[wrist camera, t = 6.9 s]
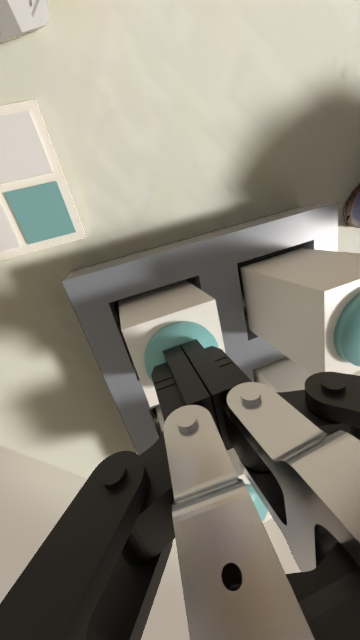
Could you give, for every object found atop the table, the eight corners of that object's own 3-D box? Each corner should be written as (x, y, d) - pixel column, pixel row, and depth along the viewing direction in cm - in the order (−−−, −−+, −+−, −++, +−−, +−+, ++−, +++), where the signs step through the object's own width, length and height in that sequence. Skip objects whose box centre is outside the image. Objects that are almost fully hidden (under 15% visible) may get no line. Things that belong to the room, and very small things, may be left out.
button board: (71, 271, 14) (61, 281, 11) (300, 206, 16) (338, 202, 14) (146, 452, 20) (152, 487, 17) (307, 386, 22) (335, 408, 19)
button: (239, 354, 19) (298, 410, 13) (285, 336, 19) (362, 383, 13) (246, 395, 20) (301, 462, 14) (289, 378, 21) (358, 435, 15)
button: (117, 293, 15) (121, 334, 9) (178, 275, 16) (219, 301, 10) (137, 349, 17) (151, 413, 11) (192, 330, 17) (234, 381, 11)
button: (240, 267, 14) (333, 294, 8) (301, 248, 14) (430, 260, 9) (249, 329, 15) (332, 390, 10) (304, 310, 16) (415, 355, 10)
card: (-109, 129, 10) (-120, 124, 10) (37, 103, 11) (34, 97, 11) (-29, 268, 13) (-35, 269, 12) (87, 237, 14) (86, 237, 13)
